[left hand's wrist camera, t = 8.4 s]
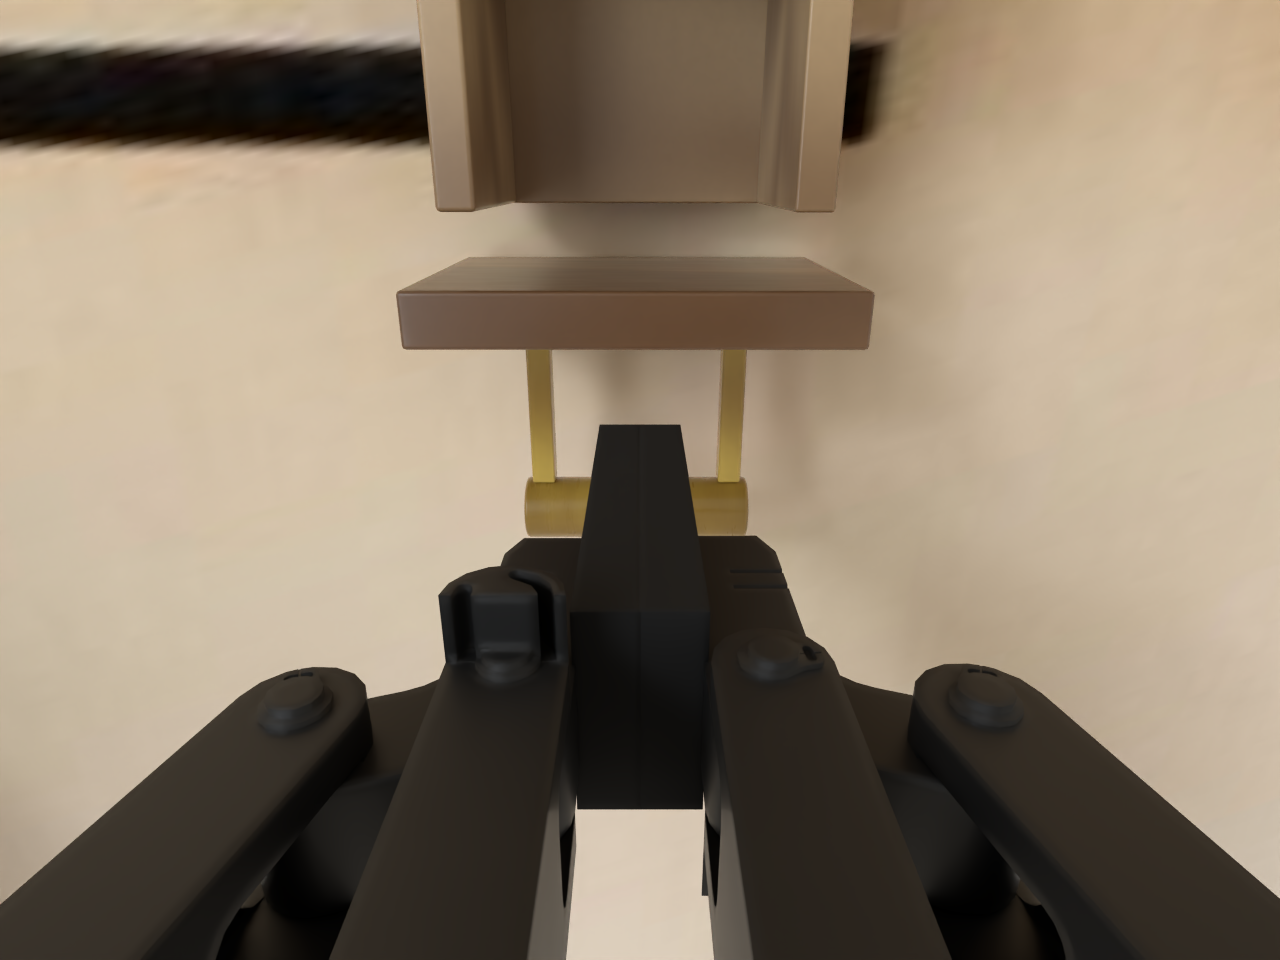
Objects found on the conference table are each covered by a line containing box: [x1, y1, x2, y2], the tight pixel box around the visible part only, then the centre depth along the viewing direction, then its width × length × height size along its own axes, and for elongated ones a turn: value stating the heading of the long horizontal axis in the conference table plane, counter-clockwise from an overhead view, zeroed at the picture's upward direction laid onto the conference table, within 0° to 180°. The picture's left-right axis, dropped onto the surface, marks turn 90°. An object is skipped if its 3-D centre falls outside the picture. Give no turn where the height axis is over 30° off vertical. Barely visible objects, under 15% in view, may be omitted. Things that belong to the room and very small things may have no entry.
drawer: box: [396, 0, 875, 537], centre depth 17 cm, size 25×10×7 cm, turn 0°
